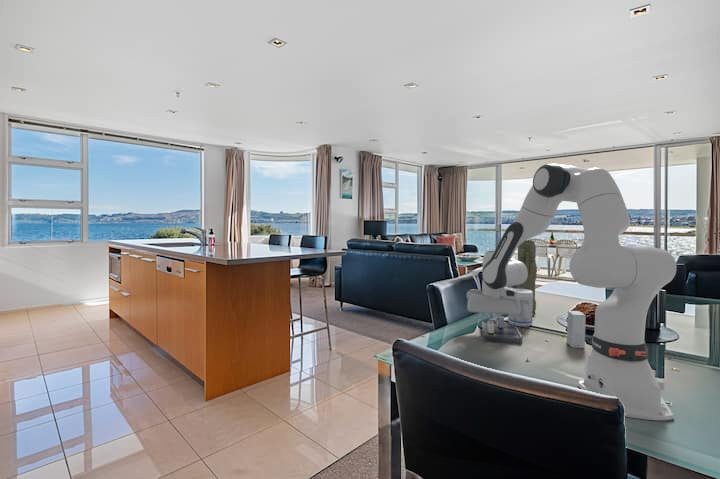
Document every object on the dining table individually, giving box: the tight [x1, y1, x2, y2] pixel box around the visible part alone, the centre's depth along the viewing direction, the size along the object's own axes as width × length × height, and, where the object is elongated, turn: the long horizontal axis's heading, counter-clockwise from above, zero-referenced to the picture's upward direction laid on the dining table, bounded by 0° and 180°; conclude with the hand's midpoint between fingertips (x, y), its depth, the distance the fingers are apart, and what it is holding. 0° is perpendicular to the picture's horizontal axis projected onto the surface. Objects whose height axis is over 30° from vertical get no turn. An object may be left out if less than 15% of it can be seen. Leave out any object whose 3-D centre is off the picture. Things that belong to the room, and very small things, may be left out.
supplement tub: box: [507, 288, 533, 328], centre depth 163 cm, size 10×10×15 cm
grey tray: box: [481, 320, 523, 345], centre depth 149 cm, size 18×13×3 cm
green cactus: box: [516, 239, 538, 317], centre depth 180 cm, size 9×12×35 cm
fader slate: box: [497, 315, 505, 328], centre depth 152 cm, size 4×2×4 cm, turn 166°
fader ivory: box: [487, 320, 494, 333], centre depth 146 cm, size 4×2×4 cm, turn 166°
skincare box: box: [566, 310, 587, 349], centre depth 137 cm, size 6×4×12 cm
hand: (493, 323), depth 153 cm, fingers closed
